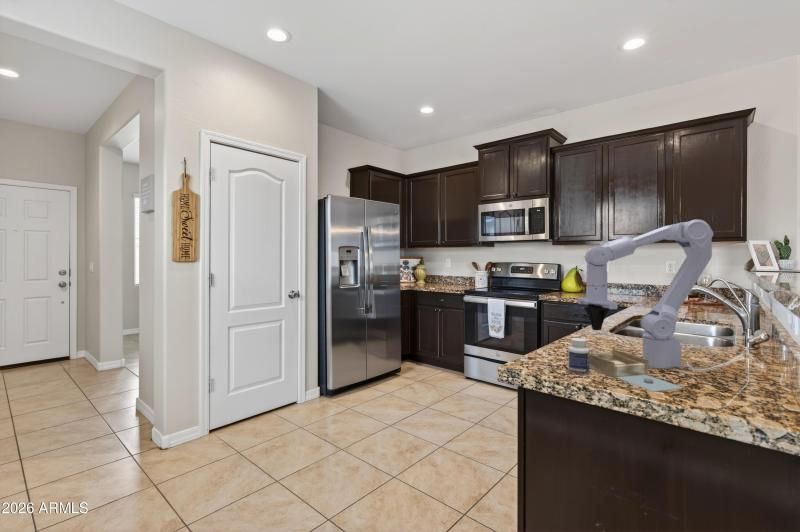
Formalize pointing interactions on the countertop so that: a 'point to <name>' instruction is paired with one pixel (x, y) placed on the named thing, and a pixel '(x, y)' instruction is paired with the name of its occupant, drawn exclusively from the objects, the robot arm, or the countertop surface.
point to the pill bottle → (578, 356)
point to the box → (609, 368)
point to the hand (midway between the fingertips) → (596, 329)
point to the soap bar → (618, 363)
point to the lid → (649, 383)
